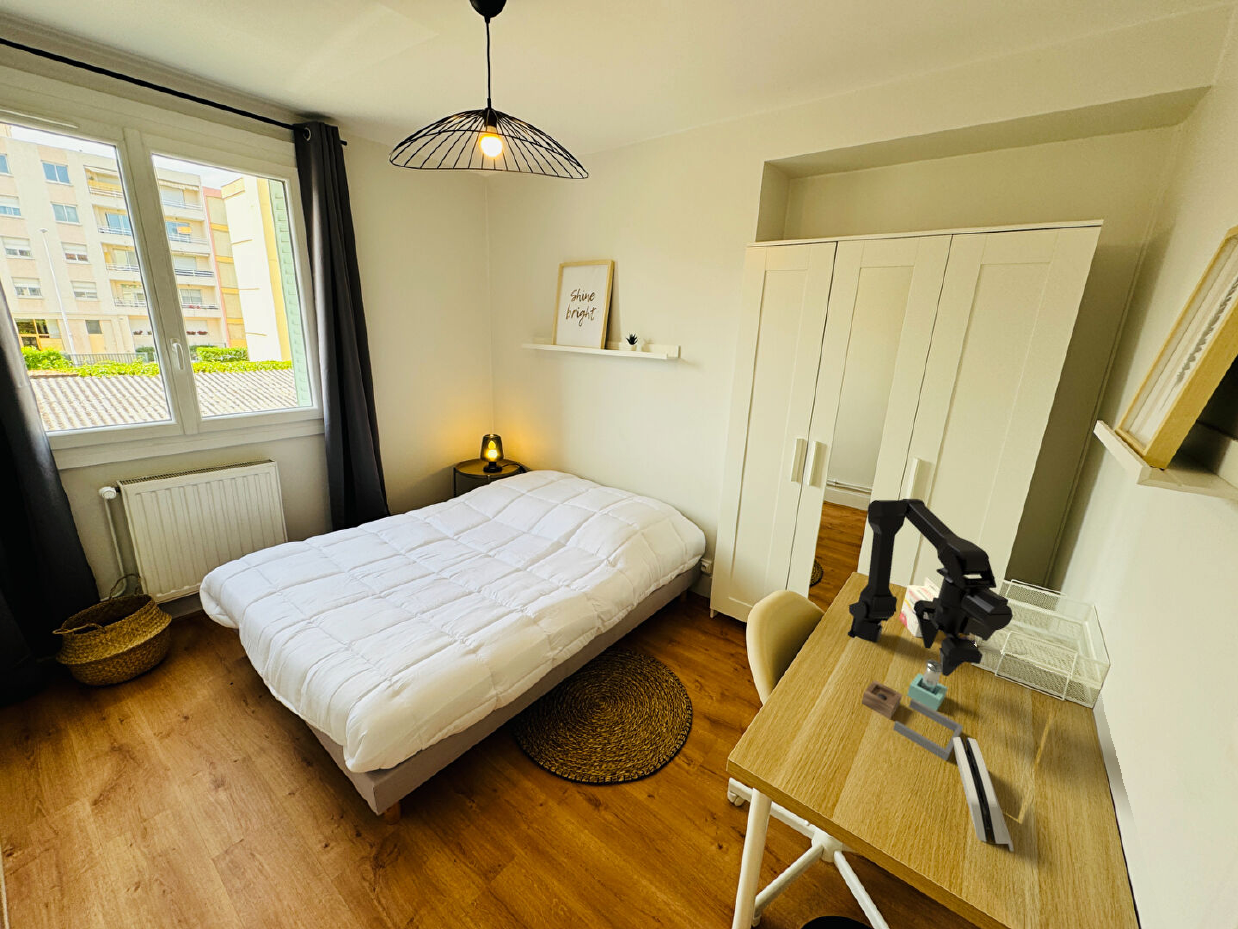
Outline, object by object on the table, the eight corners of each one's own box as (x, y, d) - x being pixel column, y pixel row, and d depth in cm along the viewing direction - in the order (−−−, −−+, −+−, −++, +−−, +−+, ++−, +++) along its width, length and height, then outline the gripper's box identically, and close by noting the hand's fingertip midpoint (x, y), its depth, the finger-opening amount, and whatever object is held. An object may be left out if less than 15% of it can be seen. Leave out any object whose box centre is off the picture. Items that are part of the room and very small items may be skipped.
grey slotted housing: (1014, 854, 78) (1005, 802, 77) (979, 848, 80) (970, 798, 79) (986, 771, 93) (979, 726, 91) (957, 768, 95) (949, 724, 94)
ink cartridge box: (897, 619, 141) (909, 575, 137) (914, 619, 141) (926, 575, 137) (914, 637, 133) (927, 591, 129) (932, 638, 133) (945, 592, 129)
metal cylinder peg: (915, 696, 110) (924, 663, 108) (920, 689, 112) (929, 657, 110) (931, 704, 108) (941, 671, 106) (935, 697, 110) (945, 665, 108)
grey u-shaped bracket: (892, 732, 101) (895, 722, 100) (909, 707, 108) (912, 698, 107) (945, 764, 94) (948, 754, 93) (960, 735, 101) (963, 726, 100)
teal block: (906, 698, 111) (910, 684, 110) (914, 686, 115) (918, 673, 113) (935, 714, 107) (939, 700, 105) (943, 701, 110) (947, 687, 109)
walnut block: (860, 706, 108) (864, 692, 106) (870, 693, 112) (874, 679, 110) (889, 723, 104) (893, 708, 102) (898, 709, 108) (902, 694, 106)
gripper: (1021, 634, 93) (998, 698, 97) (972, 584, 110) (955, 641, 115) (959, 624, 95) (939, 688, 99) (920, 577, 112) (905, 633, 117)
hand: (935, 661), depth 108 cm, fingers open, 9 cm apart
